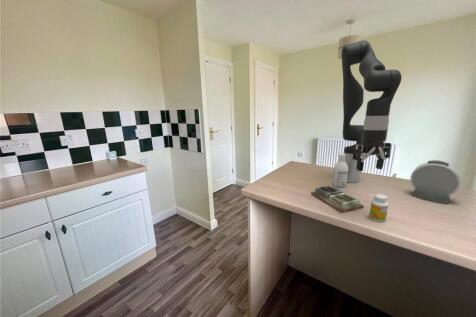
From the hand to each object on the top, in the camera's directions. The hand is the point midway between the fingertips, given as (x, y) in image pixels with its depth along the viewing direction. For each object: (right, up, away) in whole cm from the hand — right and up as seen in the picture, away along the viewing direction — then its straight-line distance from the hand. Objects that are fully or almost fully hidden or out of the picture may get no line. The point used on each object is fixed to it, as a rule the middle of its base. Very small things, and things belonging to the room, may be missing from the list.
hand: (369, 169), depth 75 cm
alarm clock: (+41, -15, +17) cm, 46 cm away
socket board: (-5, -16, +18) cm, 24 cm away
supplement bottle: (+5, -20, +2) cm, 21 cm away
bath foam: (+3, -13, +29) cm, 32 cm away
